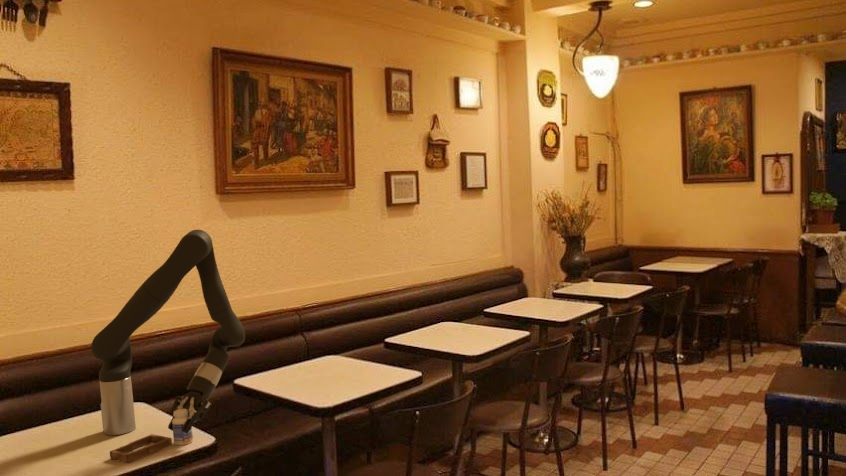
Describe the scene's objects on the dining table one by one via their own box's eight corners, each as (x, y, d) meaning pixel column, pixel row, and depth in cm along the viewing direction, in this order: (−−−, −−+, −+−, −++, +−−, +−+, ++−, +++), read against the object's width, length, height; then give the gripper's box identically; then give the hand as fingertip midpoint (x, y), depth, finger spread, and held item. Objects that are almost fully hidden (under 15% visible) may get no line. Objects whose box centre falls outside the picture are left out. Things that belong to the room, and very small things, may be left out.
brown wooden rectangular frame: (109, 458, 201) (108, 451, 201) (152, 441, 213) (151, 434, 213) (129, 463, 196) (128, 455, 196) (172, 445, 209) (171, 437, 208)
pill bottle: (187, 445, 207) (184, 413, 206) (170, 445, 208) (167, 413, 208) (196, 439, 212) (193, 407, 212) (180, 438, 214) (177, 407, 213)
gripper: (181, 372, 219) (153, 422, 210) (213, 376, 212) (185, 428, 202) (196, 384, 224) (169, 433, 215) (228, 388, 217) (201, 439, 207)
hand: (177, 430), depth 209 cm, fingers closed on pill bottle, 5 cm apart
